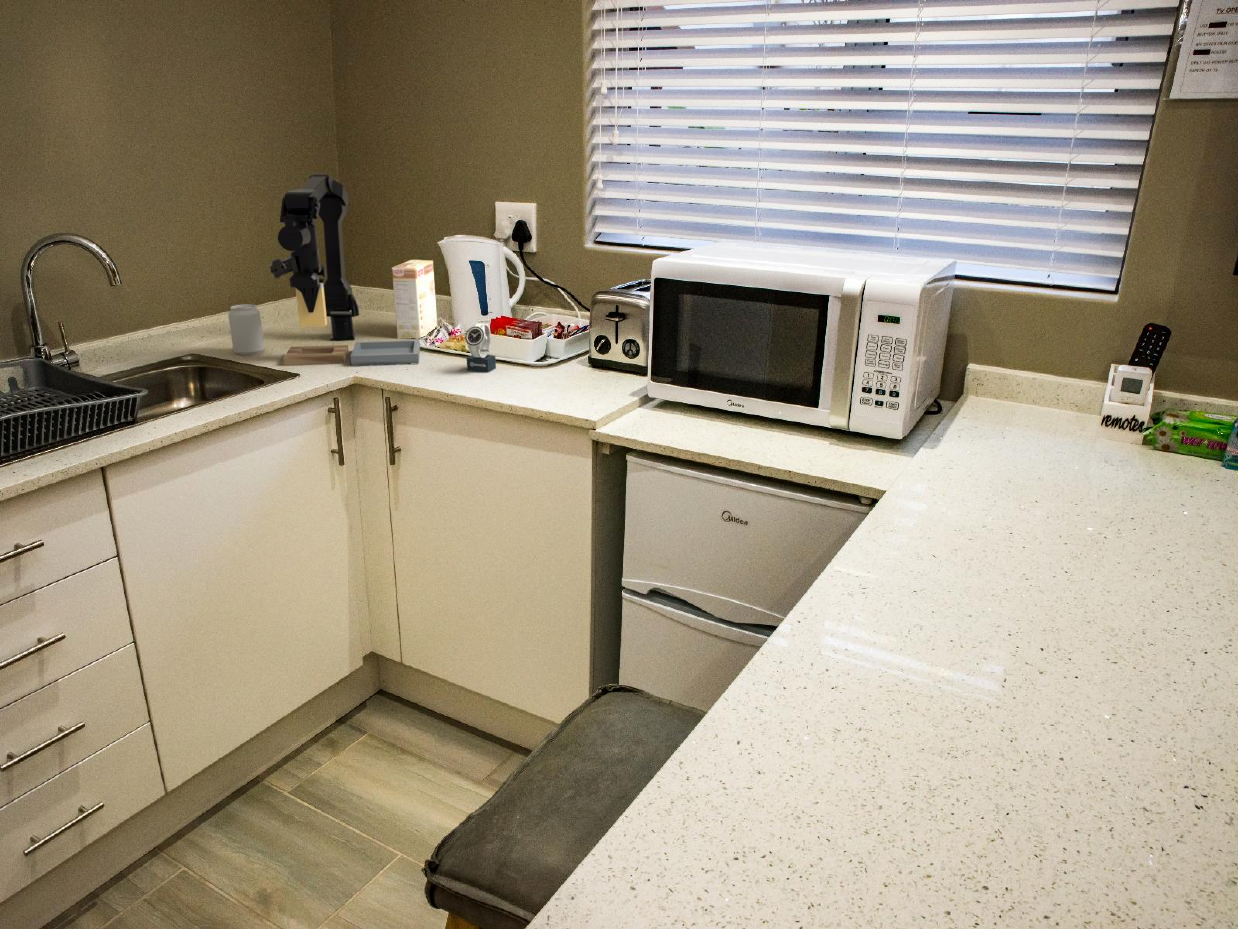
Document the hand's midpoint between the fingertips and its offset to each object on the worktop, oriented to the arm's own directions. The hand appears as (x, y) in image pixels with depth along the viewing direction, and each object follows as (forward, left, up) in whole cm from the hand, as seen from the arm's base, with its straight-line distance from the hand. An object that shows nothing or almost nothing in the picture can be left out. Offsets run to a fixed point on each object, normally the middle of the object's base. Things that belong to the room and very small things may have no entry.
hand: (312, 310), depth 228 cm
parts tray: (+1, +17, -12) cm, 21 cm away
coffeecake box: (-27, +24, -12) cm, 38 cm away
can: (-10, -18, -12) cm, 24 cm away
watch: (+17, +40, -12) cm, 45 cm away
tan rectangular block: (0, 0, -4) cm, 4 cm away
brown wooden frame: (0, 0, -12) cm, 12 cm away
